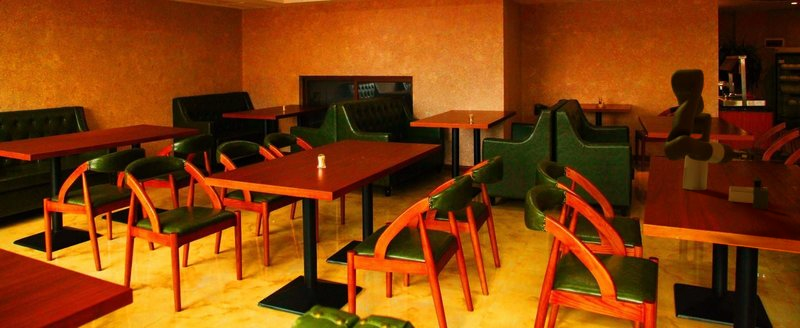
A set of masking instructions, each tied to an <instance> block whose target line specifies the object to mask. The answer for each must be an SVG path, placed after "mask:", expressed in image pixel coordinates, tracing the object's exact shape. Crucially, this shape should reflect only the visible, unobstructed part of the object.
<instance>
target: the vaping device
mask: <svg viewBox="0 0 800 328" xmlns="http://www.w3.org/2000/svg"><path fill="white" fill-rule="evenodd" d="M753 188H754V189H753V195H754V197H753V203H752V208H753V209H758V210H767V209H768V206H769V198H770V197H769V195H770V192H769V188H768V187H767V186H763V187H762V179H761V178H760V176H756V178H754V179H753Z"/></svg>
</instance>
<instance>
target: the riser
mask: <svg viewBox="0 0 800 328" xmlns="http://www.w3.org/2000/svg"><path fill="white" fill-rule="evenodd" d="M753 189H754V187H747V186H734V185H730V186H729V191H728V202H736V203H749V204H753V197H754V195H753Z"/></svg>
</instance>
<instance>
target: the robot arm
mask: <svg viewBox="0 0 800 328" xmlns="http://www.w3.org/2000/svg"><path fill="white" fill-rule="evenodd" d="M670 77H671V78H670V85H671V86H670V87H671V89H672V92H673V94H674V96H675V98H676V100H677V104H678V108H677V109H676V111H675V112H674V114H673V117H672V122H671V127H670V130H669V131H670V132H669V133H668V135H667V137H666V139H665V142H664V145H663V154H664V157H666V158H665V159H667V160H668V161H671V162H676V161H677V162H678V161H680V160H681V159H683V158H684V167H683V176H682V189H683V190H690V191H705V190H707V186H708V185H707V182H708V171H709V164H710V163H711V164H717V165H726V164H727V165H728V164H729V162H731V161H735V162H736V161H740V162H741V161H742V162H744V161H749V162H759V161H760V159H761V155H760V154H756V153H749V152H746V151H743V150H742V151H741V150H738V149H733V148H732V146H731V145H729V144H728V143H722V142H716V141H715V142H714V141H710V140H711V130H712V123H713V122H712V121H713V118H712V114H711V113H708V112H703V111H704V109H705V102H704V98H703V96H702V94H703V89H704V85H705V75H704V71H703V70H702V69H700V68H699V69H698V68H690V69H688V68H687V69H686V68H685V69H676V70H675V71H673V73H672V75H671V76H670ZM692 135H701V136H700V137H699V138H698V139H696V138H694V137H692Z"/></svg>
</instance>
